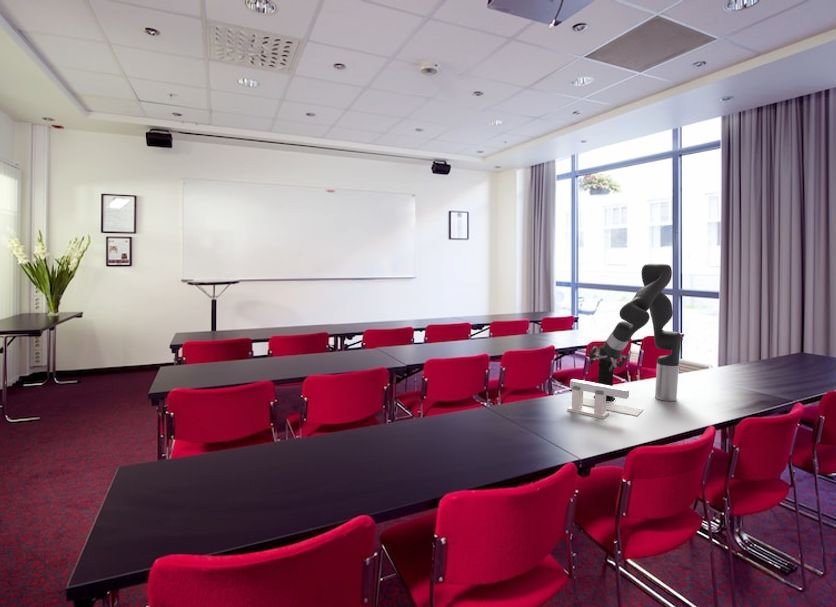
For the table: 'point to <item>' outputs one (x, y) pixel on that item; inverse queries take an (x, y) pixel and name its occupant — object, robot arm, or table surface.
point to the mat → (614, 407)
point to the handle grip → (605, 375)
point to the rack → (578, 407)
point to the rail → (600, 388)
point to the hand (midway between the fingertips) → (600, 367)
